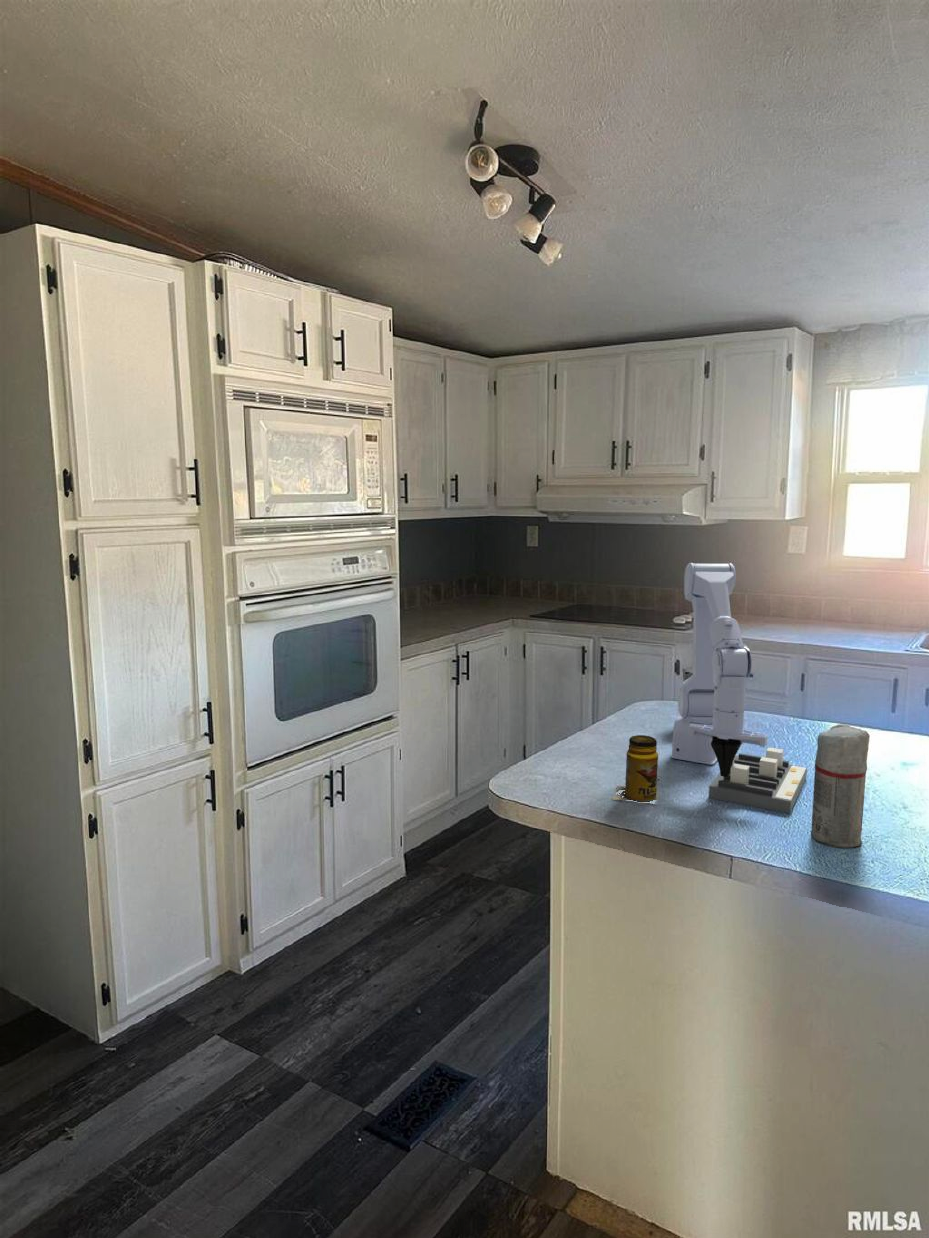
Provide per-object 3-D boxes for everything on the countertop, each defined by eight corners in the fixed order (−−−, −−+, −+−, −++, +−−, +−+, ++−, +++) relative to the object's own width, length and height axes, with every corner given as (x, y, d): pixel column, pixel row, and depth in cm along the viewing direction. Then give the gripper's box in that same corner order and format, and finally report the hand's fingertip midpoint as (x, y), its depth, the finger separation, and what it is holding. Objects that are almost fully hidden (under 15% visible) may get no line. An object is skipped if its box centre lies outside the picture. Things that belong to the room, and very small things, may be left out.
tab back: (765, 766, 163) (766, 750, 163) (767, 763, 165) (768, 747, 165) (780, 769, 162) (781, 752, 161) (782, 766, 164) (783, 749, 163)
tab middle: (758, 777, 158) (759, 760, 157) (761, 773, 160) (762, 756, 159) (774, 780, 156) (775, 762, 155) (776, 776, 158) (777, 759, 157)
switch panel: (708, 797, 154) (709, 781, 153) (732, 765, 172) (733, 750, 171) (790, 813, 146) (791, 796, 146) (806, 778, 164) (807, 763, 164)
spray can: (859, 854, 130) (869, 738, 127) (806, 842, 134) (814, 730, 131) (864, 835, 137) (874, 725, 134) (813, 825, 141) (822, 718, 138)
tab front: (730, 784, 154) (731, 767, 153) (732, 780, 156) (733, 763, 155) (745, 787, 152) (747, 769, 152) (748, 783, 154) (749, 766, 154)
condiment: (656, 805, 150) (659, 745, 148) (612, 800, 153) (614, 741, 151) (659, 792, 157) (661, 734, 155) (616, 787, 159) (618, 730, 157)
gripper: (686, 708, 153) (682, 774, 155) (763, 719, 146) (759, 788, 148) (695, 700, 159) (692, 763, 161) (770, 710, 152) (766, 777, 154)
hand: (725, 775), depth 155 cm, fingers closed
